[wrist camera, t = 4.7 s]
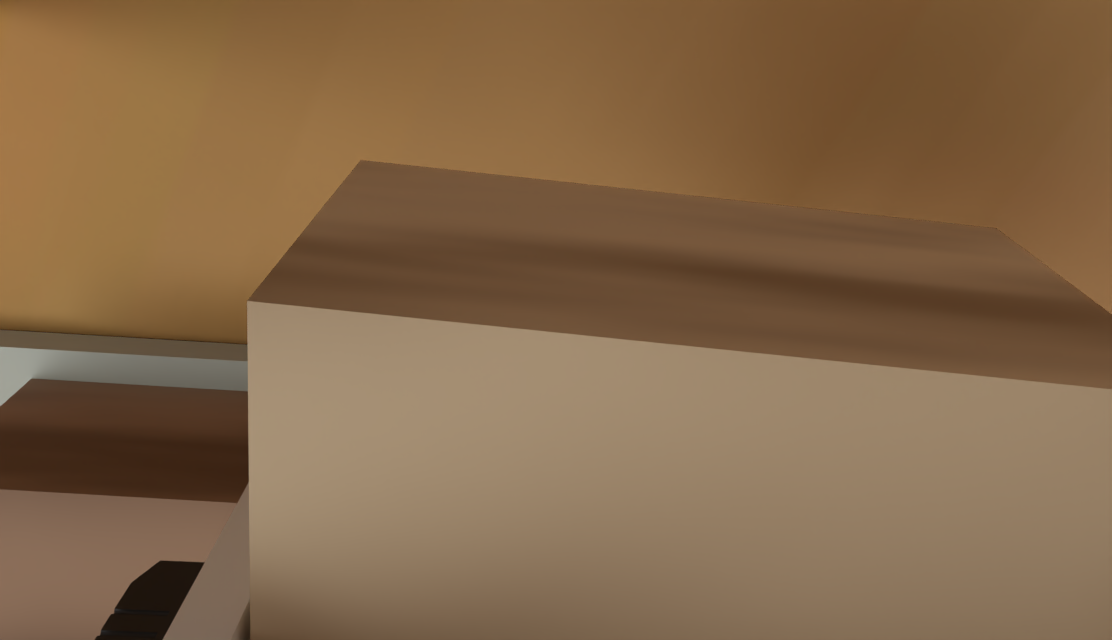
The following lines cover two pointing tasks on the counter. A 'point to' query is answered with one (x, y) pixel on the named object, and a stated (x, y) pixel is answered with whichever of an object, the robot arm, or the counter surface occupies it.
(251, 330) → the oak brick
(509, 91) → the counter surface
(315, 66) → the counter surface
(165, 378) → the board
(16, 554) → the walnut base brick
